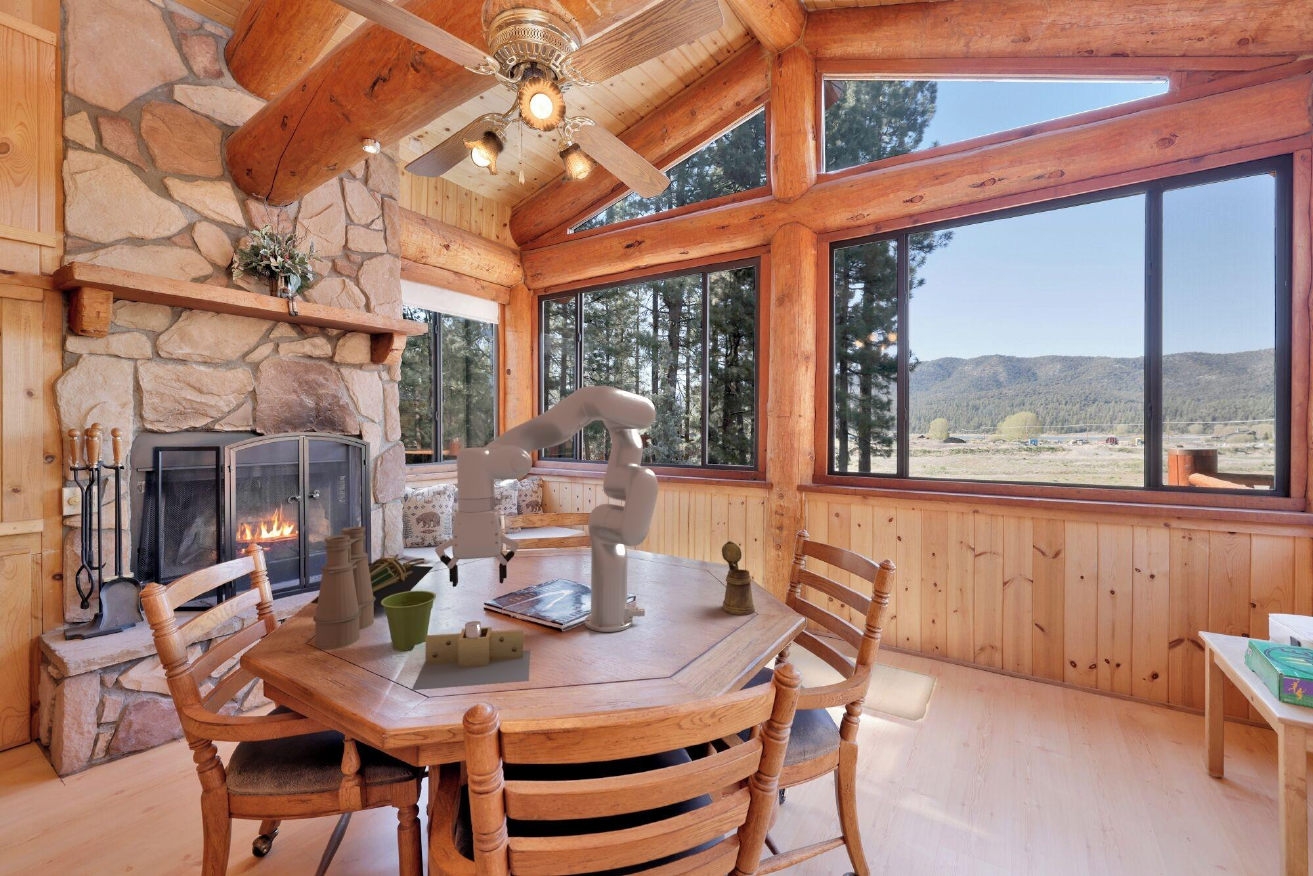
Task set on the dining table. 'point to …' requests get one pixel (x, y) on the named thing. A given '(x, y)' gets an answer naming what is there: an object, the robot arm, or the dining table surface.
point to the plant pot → (408, 617)
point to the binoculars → (344, 591)
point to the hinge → (474, 647)
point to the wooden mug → (736, 583)
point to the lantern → (393, 577)
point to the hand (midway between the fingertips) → (478, 583)
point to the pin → (473, 629)
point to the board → (473, 673)
